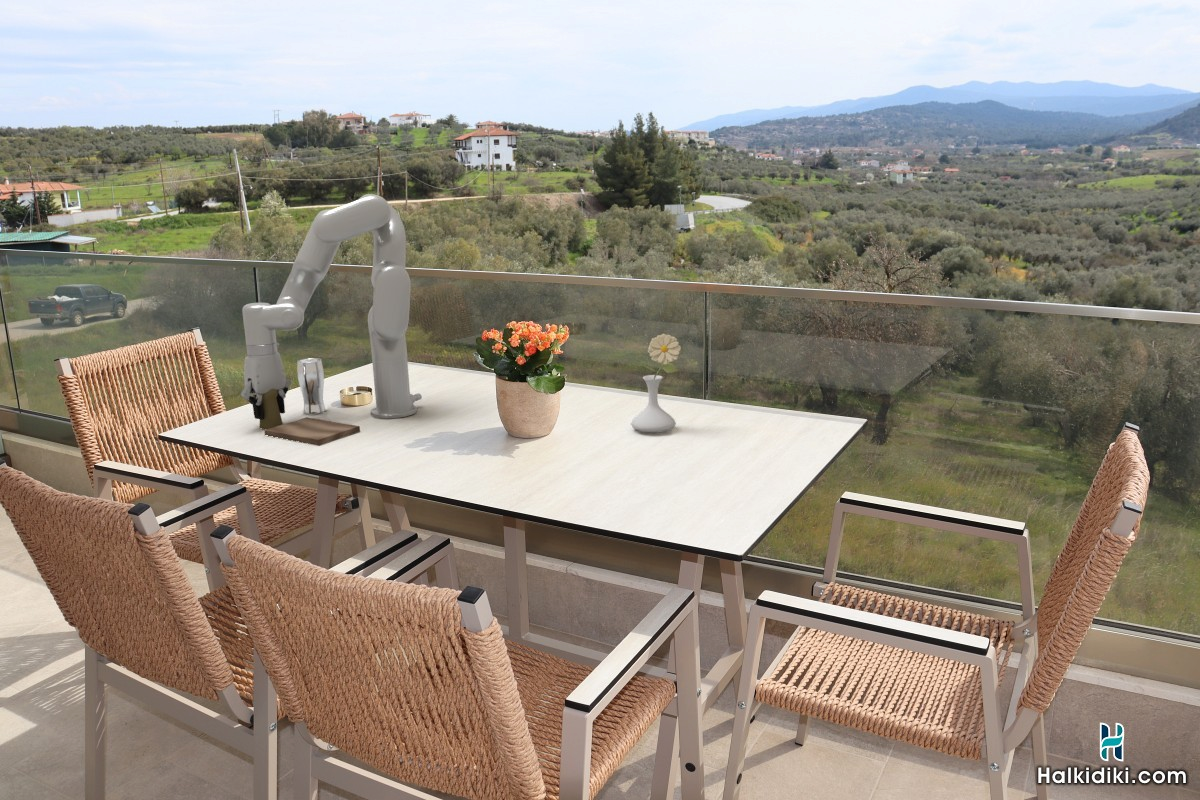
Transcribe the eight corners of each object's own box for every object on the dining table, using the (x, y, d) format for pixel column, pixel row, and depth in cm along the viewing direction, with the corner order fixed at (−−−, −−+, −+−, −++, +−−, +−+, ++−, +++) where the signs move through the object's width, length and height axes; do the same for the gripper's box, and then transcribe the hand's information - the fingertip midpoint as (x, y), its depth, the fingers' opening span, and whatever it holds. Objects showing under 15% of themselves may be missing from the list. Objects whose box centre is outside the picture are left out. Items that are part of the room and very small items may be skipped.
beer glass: (296, 414, 258) (290, 362, 254) (312, 408, 264) (307, 357, 260) (316, 416, 255) (311, 363, 251) (332, 410, 261) (327, 358, 258)
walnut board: (307, 422, 248) (306, 417, 248) (360, 431, 238) (359, 426, 238) (265, 435, 237) (264, 430, 236) (318, 445, 227) (318, 439, 226)
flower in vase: (625, 434, 229) (623, 336, 223) (638, 422, 240) (637, 328, 234) (675, 438, 225) (674, 338, 219) (687, 426, 235) (686, 330, 229)
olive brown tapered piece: (275, 429, 242) (270, 389, 240) (254, 429, 243) (250, 389, 241) (287, 423, 248) (282, 384, 245) (267, 423, 249) (262, 383, 246)
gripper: (279, 343, 250) (286, 406, 254) (225, 354, 235) (233, 421, 240) (297, 345, 246) (304, 409, 250) (244, 357, 232) (252, 425, 236)
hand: (270, 415), depth 245 cm, fingers open, 6 cm apart
